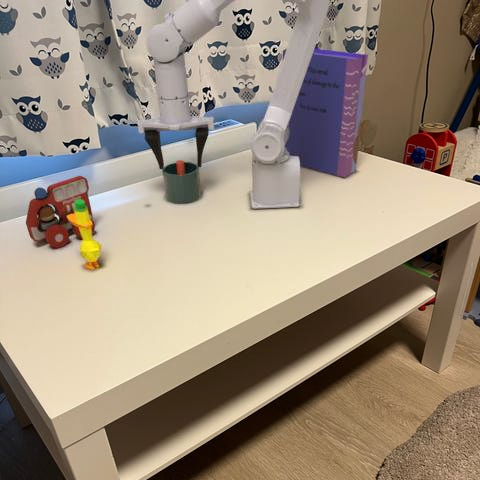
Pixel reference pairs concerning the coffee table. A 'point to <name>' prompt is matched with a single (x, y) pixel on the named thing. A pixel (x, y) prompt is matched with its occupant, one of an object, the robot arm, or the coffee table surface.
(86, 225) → the toy figure
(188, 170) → the can
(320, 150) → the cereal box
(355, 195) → the coffee table surface
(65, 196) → the toy fire truck
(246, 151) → the coffee table surface
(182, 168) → the red cylinder
